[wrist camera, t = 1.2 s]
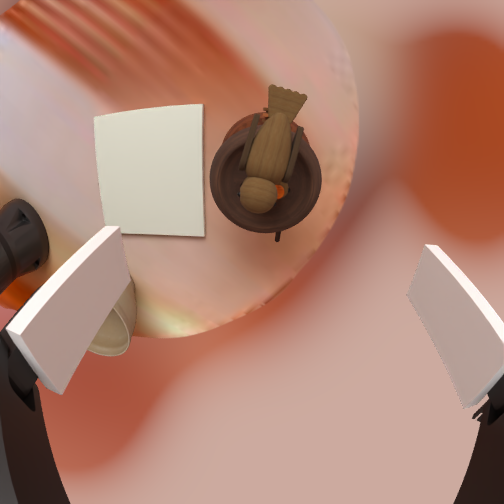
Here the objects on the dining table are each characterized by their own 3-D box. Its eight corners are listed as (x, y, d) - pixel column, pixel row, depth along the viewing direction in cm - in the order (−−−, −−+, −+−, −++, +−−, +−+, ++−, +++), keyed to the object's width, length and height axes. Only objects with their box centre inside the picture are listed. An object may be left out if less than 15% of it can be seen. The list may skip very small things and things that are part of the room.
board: (109, 230, 39) (106, 232, 38) (96, 116, 30) (93, 117, 29) (205, 234, 38) (204, 236, 38) (203, 104, 30) (202, 104, 29)
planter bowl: (66, 242, 40) (30, 275, 31) (139, 239, 39) (106, 278, 30) (93, 312, 48) (69, 349, 38) (161, 318, 47) (143, 363, 37)
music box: (215, 103, 30) (183, 86, 12) (304, 100, 30) (380, 87, 12) (225, 216, 37) (213, 316, 19) (305, 211, 37) (359, 303, 19)
